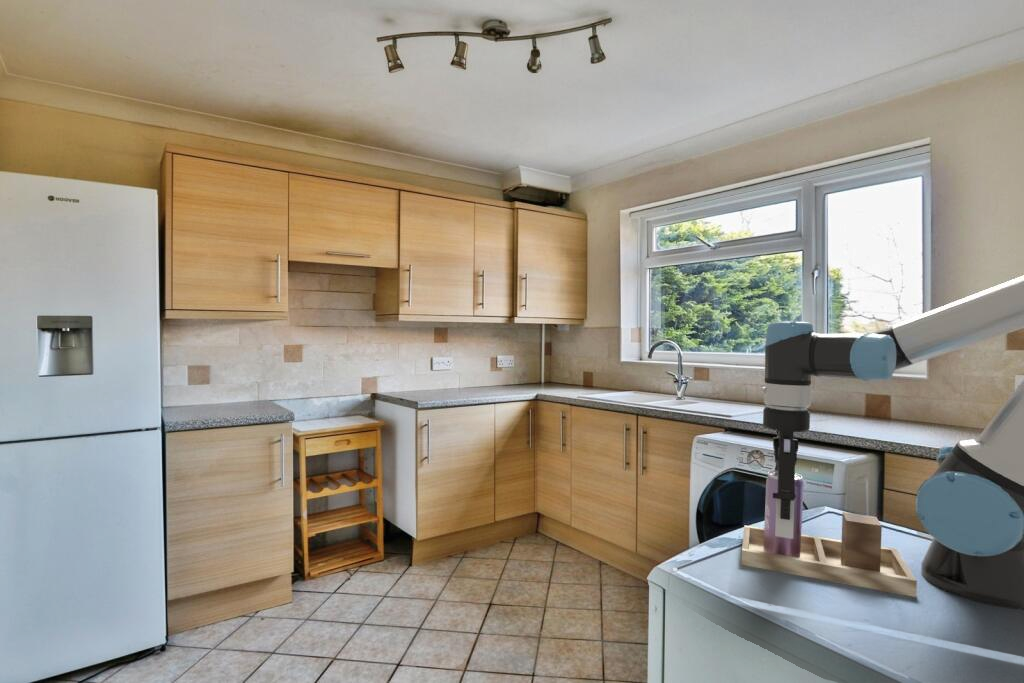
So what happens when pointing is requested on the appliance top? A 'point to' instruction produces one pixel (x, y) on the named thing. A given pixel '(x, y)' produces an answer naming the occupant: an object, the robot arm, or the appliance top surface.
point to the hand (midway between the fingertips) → (782, 524)
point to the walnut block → (861, 542)
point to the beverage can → (770, 540)
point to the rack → (829, 563)
